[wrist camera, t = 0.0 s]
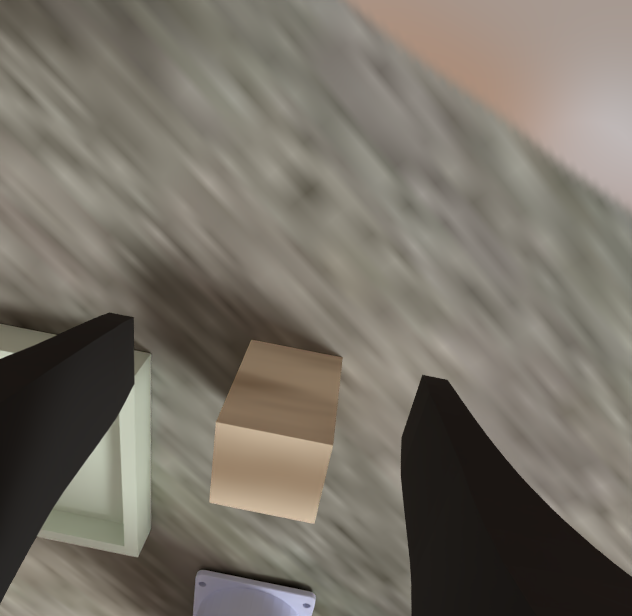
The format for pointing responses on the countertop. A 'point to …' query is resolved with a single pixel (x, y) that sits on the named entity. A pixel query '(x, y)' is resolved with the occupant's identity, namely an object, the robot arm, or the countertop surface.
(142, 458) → the tray
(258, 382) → the maple block
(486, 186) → the countertop surface
